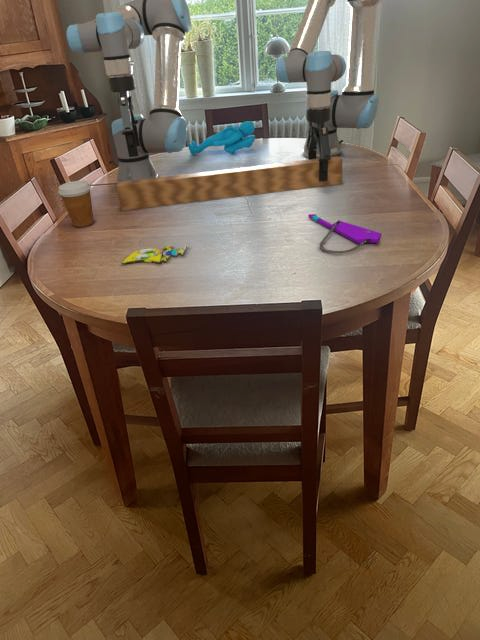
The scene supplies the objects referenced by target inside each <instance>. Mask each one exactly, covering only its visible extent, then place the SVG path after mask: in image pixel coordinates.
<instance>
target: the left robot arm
mask: <svg viewBox="0 0 480 640" xmlns="http://www.w3.org/2000/svg"><path fill="white" fill-rule="evenodd" d="M191 30H192V20H191V13H190V10H189V7H188V3H187V1H186V0H131V1H128V2H125V3H124V4H122V5H119V6H118V7H117V8H116V9H115V11H112V12H111V11H110V12H102V13H101V12H100V13H97V14H96V16H95V19H92V20H90V21H86V22H84V23H75V24H70V25H68V27H67V28H66V40H67V44H68V46H69V48H70V49H71V51H72V52H74V53H76V54H86V53H88V54H89V53H98V52H102V57H103V63H104V68H105V74H106V76H107V77H108V79H107V82H108V87H109V91H110V93H111V92H112V93H118V95H119V96H118V97H117V104H118V106H119V111H120V116H121V118H118V119H115V120H113V121H112V122H111V132H112V133H111V135H112V138H113V142H114V146H115V151H116V156H117V160H118V162H115V161H114V160H110V161H109V164H108V165H111V164H112V163H113V164H114V165H115V166H116V167H117V168H118V170H117V182H123V181H132V180H140V179H149V178H157V177H159V176H158V172H157V169H156V168H155V166H154V163H153V161H152V159H151V156H150V154H164V153H165V154H167V153H168V154H172V153H179V152H181V151H182V150H184V148H185V146H186V144H187V139H188V123H187V121H186V119H185V118H184V117H183V113H182V112H181V111H180V110H179V100H180V99H179V95H180V92H179V91H180V68H181V67H180V65H181V44H182V43H184V41H185V39H186V34H188V33H190V32H191ZM145 36H152V38H153V39H154V41H155V66H154V68H155V69H154V94H153V95H154V97H153V98H154V99H153V107H152V108H151V109H150V110H149V117H148V118H144V116H143V114H142V113H137V114H135V111H134V104H133V103H134V102H133V96H132V95H131V91H134V90H136V88H137V86H136V79H135V76H134V75H133V72H134V70H133V65H134V61H133V60H131V59H132V58H131V53H130V50H135V49H137V48H138V47H140V46H141V45H142V44H143V43H144V40H145Z"/></svg>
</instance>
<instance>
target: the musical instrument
mask: <svg viewBox="0 0 480 640" xmlns="http://www.w3.org/2000/svg"><path fill="white" fill-rule="evenodd" d="M308 218H309V219H311V220H313V221H314V222H316V223H318V224H320V225H322V226H324V227H326V228H328V229H330V230H329V231H328V232H327V233H326V234H325V236H324V237H323V239H322V240H321V241H320V243H319V249H320V250H321V251H323V252H324V253H325V252H326V253H335V254H344V253H348V252H352V251H355V250H356V249H358V248H360V247H361V246H363V245H364V244H366V243H371V244H378V243H379V242H380V239H381V237H382V233H381V232H378V231H376V230H371V229H368V228H365V227H362V226H358V225H355V224H353V223H348V222H345V221H342V220H339V219H338V220H337V221H336V222H334V223H331V222H328V221H327V220H324V219H323V218H321V217H319V216H318V215H317V214H315V213H309V214H308ZM333 231H334V232H335V233H337V234H339V235H341V236H343V237H344V238H346V239H348V240H349V241H352V242H354V243H355V244H357V245H356V246H354V247H352V248H350V249H346V250H332V249H325V248H324V243H325V242H326V240H327V238H328V237H329V236H330V235H331V233H332V232H333Z"/></svg>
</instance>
